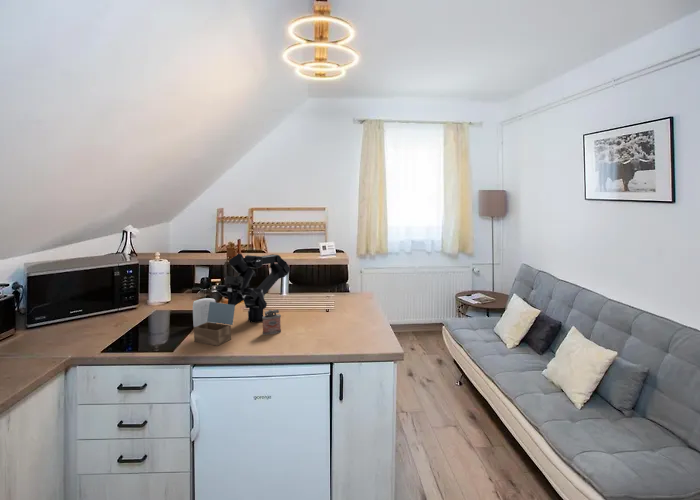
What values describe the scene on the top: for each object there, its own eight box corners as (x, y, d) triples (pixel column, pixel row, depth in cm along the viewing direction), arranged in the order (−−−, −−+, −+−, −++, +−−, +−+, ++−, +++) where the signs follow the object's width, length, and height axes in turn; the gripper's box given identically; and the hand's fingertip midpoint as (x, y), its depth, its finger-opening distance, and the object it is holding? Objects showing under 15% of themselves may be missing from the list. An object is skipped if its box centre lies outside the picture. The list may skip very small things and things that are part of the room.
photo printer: (215, 321, 198) (214, 296, 197) (217, 324, 195) (216, 298, 193) (192, 325, 193) (191, 299, 191) (194, 328, 189) (193, 301, 188)
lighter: (263, 335, 179) (263, 312, 178) (261, 333, 182) (261, 310, 181) (282, 332, 183) (281, 309, 182) (279, 330, 186) (279, 308, 185)
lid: (207, 321, 178) (208, 321, 179) (231, 324, 174) (232, 324, 174) (209, 301, 179) (211, 302, 180) (233, 304, 174) (235, 304, 175)
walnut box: (208, 335, 179) (207, 322, 178) (231, 339, 174) (230, 325, 174) (194, 341, 172) (193, 327, 171) (217, 345, 167) (217, 331, 166)
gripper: (217, 267, 187) (201, 297, 179) (252, 270, 180) (237, 301, 171) (230, 281, 196) (214, 310, 187) (263, 284, 188) (249, 315, 180)
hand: (228, 309), depth 181 cm, fingers closed
